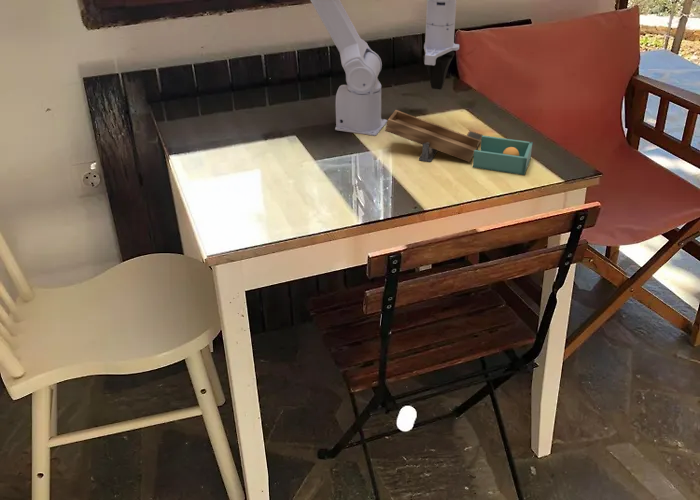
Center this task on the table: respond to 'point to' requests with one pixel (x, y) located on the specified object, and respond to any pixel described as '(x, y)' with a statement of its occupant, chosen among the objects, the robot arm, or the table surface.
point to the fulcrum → (427, 153)
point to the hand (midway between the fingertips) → (437, 87)
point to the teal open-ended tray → (502, 155)
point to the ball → (511, 151)
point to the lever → (434, 135)
